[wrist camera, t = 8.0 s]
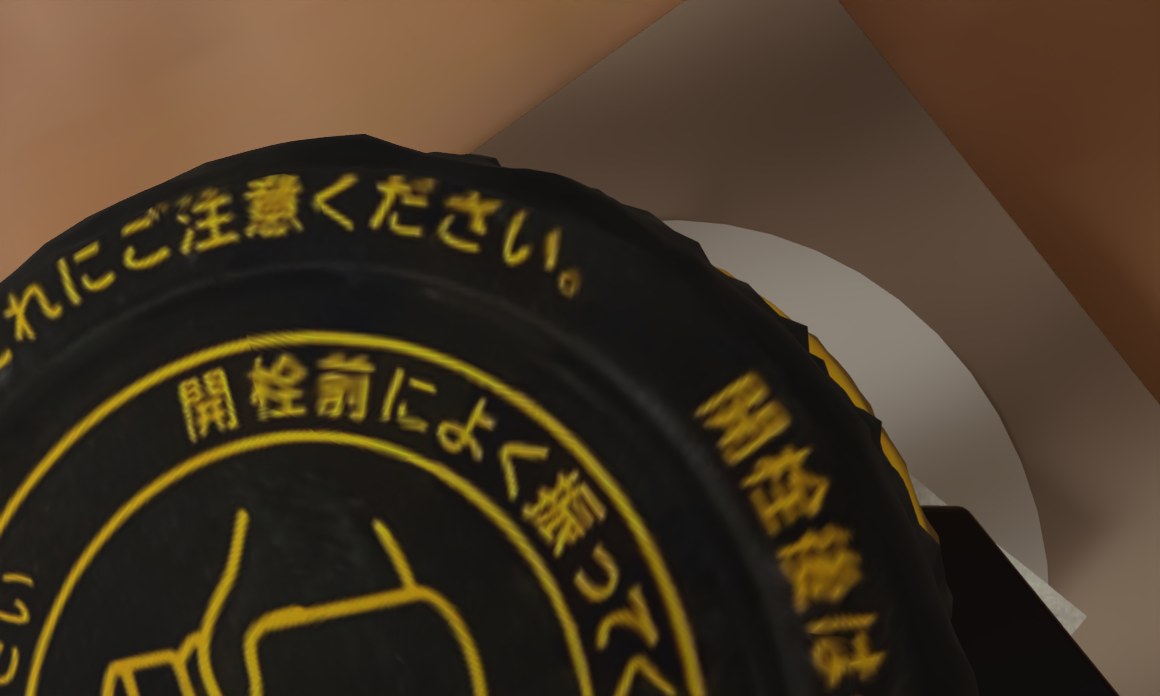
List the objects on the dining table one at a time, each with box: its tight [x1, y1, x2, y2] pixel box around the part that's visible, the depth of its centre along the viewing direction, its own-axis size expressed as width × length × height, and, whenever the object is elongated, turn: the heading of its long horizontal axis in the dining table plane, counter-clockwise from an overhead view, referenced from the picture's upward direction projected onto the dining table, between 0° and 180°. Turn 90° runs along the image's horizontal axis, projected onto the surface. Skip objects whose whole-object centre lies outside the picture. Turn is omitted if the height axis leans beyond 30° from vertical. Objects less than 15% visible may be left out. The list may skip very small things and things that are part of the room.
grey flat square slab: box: [471, 0, 1160, 696], centre depth 17 cm, size 16×16×1 cm
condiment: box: [0, 134, 1086, 696], centre depth 9 cm, size 7×8×12 cm
